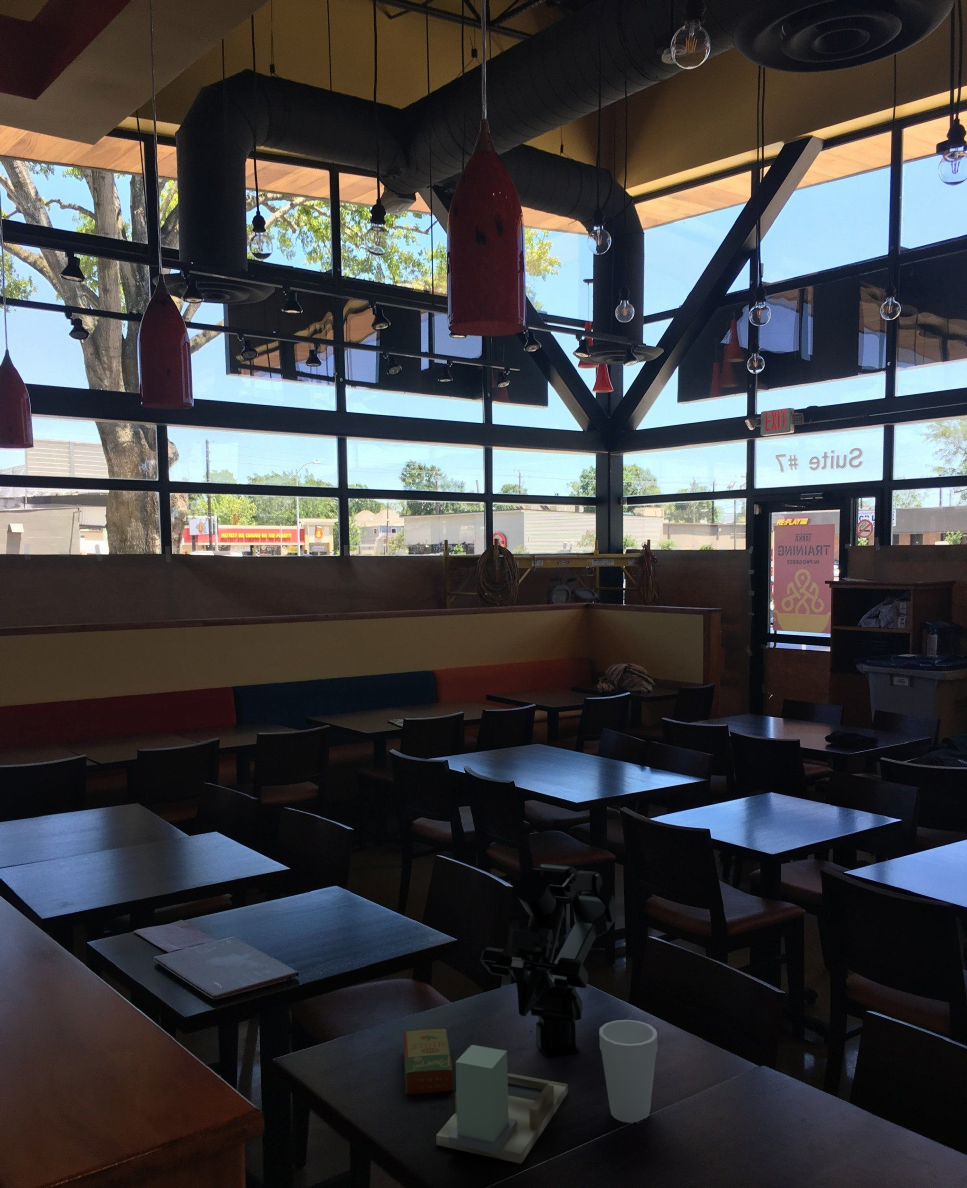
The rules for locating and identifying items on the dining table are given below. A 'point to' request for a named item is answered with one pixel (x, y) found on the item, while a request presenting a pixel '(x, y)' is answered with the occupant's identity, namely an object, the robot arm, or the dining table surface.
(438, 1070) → the carton
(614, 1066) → the foam cup
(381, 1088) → the dining table surface
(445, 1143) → the track
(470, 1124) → the tall sage green block
